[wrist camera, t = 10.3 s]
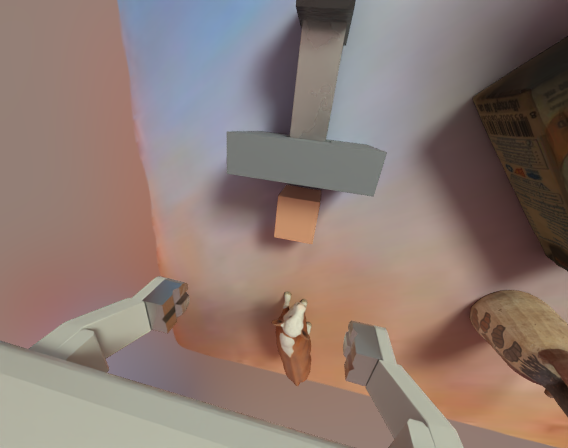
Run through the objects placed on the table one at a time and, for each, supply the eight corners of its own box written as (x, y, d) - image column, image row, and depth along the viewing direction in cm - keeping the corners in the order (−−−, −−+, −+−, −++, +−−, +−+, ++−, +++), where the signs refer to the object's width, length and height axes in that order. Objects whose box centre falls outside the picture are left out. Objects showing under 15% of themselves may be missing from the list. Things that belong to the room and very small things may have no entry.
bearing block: (259, 131, 22) (226, 131, 15) (366, 144, 21) (386, 152, 14) (257, 160, 24) (226, 173, 16) (358, 174, 22) (373, 196, 15)
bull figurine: (313, 273, 28) (309, 323, 21) (313, 342, 34) (309, 402, 26) (281, 270, 29) (266, 318, 22) (286, 339, 34) (275, 396, 27)
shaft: (310, -5, 17) (303, -67, 12) (354, -3, 17) (367, -66, 11) (289, 170, 23) (278, 182, 18) (321, 174, 23) (320, 189, 17)
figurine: (476, 338, 28) (571, 471, 17) (461, 298, 26) (557, 420, 15) (546, 325, 25) (711, 472, 14) (535, 280, 23) (714, 411, 12)
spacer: (286, 184, 24) (278, 195, 20) (321, 190, 24) (320, 202, 20) (282, 220, 26) (273, 237, 22) (314, 226, 26) (312, 244, 22)
